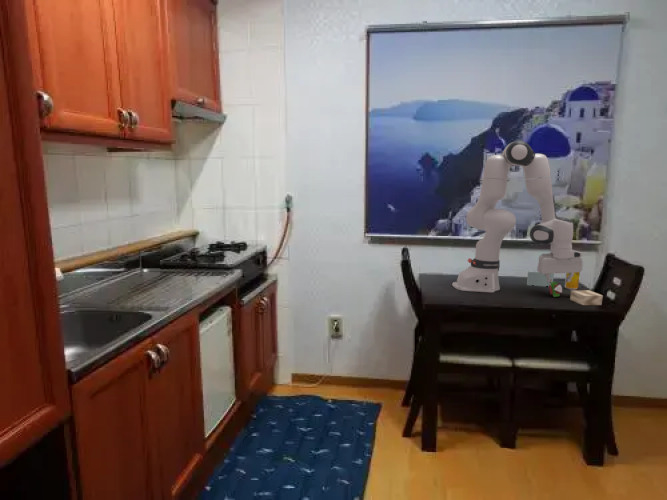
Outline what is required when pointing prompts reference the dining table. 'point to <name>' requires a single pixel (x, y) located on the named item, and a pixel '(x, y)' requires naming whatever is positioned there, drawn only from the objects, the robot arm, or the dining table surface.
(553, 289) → the geometric puzzle
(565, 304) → the dining table surface
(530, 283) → the right angle wall
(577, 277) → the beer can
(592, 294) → the oak base block
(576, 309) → the dining table surface
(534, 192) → the robot arm
